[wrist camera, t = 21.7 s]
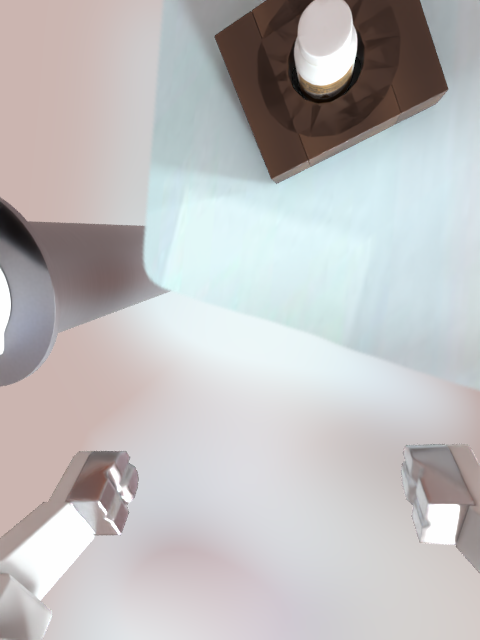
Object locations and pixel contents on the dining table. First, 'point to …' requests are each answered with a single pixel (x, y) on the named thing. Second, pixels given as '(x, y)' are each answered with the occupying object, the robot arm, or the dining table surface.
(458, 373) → the dining table surface
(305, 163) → the socket pad
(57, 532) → the robot arm
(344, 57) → the pill bottle
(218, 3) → the dining table surface
